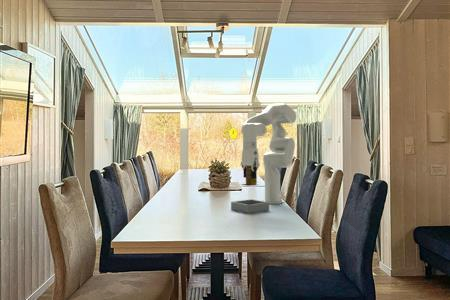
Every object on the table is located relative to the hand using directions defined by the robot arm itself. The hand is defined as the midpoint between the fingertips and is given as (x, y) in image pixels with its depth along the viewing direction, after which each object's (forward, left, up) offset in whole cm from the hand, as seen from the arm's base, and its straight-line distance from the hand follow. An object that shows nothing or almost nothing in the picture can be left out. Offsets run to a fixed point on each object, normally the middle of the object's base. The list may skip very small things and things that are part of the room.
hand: (249, 177), depth 226 cm
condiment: (0, 0, -4) cm, 4 cm away
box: (0, 0, -18) cm, 18 cm away
